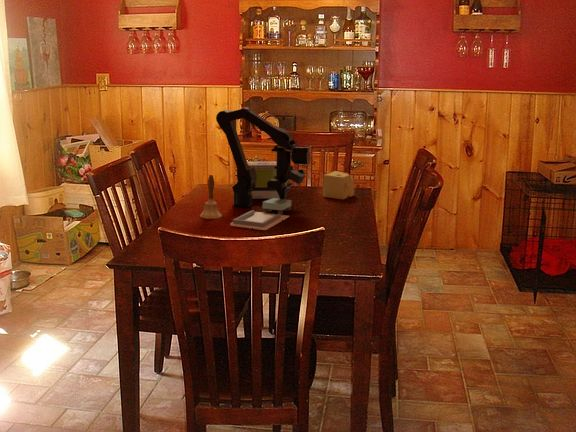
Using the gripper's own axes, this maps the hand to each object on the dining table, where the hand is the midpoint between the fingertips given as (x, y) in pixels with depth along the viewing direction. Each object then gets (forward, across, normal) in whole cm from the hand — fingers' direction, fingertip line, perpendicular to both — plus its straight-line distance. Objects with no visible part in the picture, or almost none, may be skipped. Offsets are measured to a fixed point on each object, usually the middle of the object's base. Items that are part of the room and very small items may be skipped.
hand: (283, 201), depth 277 cm
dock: (+3, -21, 0) cm, 21 cm away
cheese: (+4, +33, -12) cm, 35 cm away
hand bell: (+3, -23, +20) cm, 31 cm away
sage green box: (+3, -6, 0) cm, 7 cm away
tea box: (+3, +17, +17) cm, 24 cm away
